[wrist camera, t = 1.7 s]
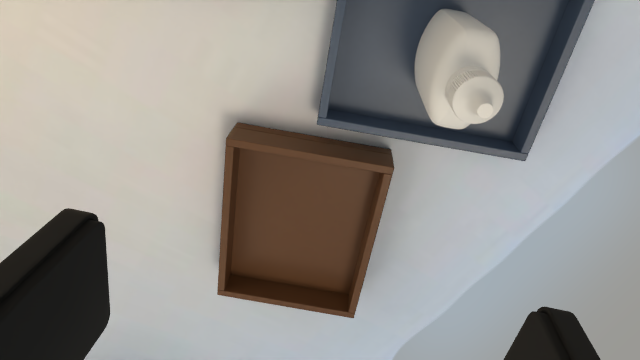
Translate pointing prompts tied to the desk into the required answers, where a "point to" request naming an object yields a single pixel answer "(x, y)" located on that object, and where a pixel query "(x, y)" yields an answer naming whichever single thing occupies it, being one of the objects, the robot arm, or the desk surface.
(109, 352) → the desk surface
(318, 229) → the walnut tray
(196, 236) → the desk surface
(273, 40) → the desk surface
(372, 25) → the slate tray
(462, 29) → the eye dropper bottle
